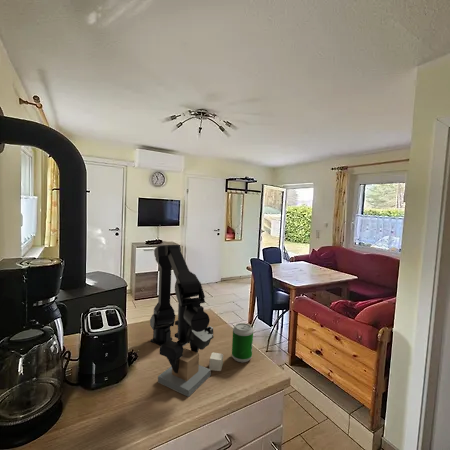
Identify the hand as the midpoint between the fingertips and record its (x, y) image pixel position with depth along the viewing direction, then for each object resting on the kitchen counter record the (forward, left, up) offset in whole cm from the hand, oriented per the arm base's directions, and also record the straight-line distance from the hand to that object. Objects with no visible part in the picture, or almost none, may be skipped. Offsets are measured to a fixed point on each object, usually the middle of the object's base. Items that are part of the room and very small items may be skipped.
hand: (185, 365), depth 86 cm
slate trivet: (0, 0, -4) cm, 4 cm away
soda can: (+10, +21, -5) cm, 24 cm away
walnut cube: (0, 0, -2) cm, 3 cm away
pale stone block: (+5, +11, -5) cm, 13 cm away
